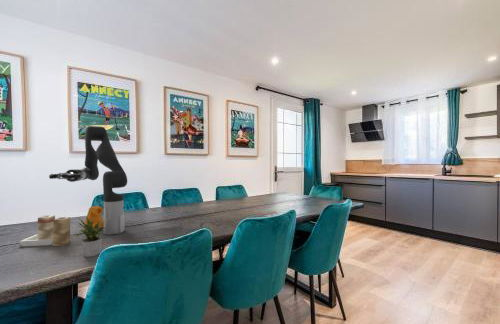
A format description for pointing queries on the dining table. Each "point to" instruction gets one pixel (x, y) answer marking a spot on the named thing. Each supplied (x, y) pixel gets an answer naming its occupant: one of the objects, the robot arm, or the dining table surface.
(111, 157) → the robot arm
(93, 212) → the bracket
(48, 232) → the maple post
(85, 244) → the house plant
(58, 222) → the oak post
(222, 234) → the dining table surface
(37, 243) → the tray
